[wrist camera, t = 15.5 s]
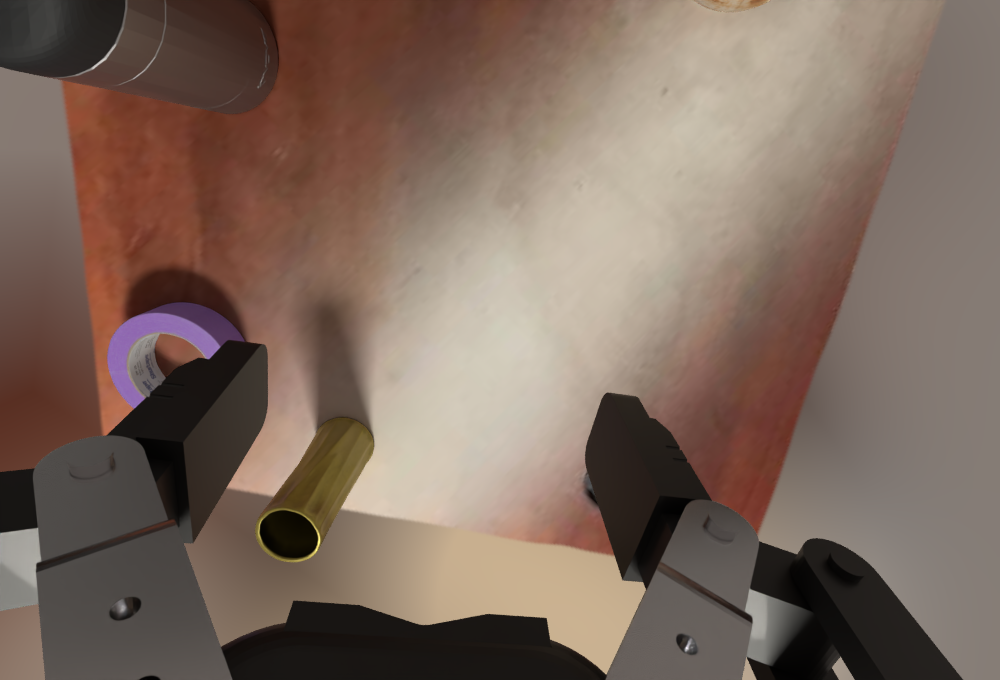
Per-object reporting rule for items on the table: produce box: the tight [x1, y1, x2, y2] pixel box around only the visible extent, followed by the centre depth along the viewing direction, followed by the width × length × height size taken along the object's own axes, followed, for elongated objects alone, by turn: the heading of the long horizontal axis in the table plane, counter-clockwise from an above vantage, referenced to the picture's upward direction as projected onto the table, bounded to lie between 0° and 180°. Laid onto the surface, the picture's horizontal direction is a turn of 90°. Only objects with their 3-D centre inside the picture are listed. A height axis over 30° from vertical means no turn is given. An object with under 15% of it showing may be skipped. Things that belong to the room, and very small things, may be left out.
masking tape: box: [107, 302, 245, 409], centre depth 48 cm, size 12×12×4 cm
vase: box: [255, 418, 374, 562], centre depth 46 cm, size 6×6×14 cm
